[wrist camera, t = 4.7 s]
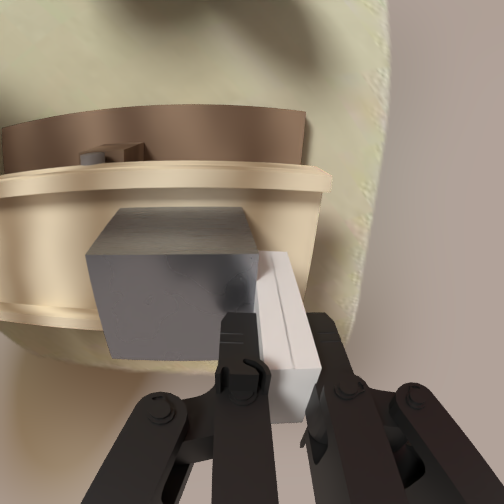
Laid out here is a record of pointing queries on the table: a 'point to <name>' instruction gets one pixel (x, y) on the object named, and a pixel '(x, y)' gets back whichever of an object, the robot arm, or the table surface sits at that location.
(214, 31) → the table surface
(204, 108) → the stand
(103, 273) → the block
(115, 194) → the balance beam
